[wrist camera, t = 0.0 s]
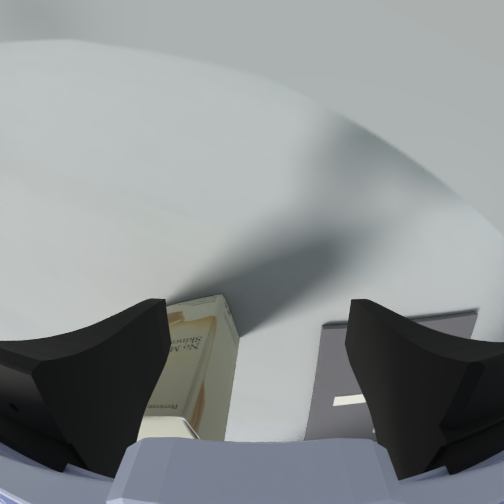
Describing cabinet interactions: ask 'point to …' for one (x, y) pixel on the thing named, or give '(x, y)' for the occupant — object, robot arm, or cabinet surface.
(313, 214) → the cabinet surface
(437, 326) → the rest pad
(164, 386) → the skincare box
